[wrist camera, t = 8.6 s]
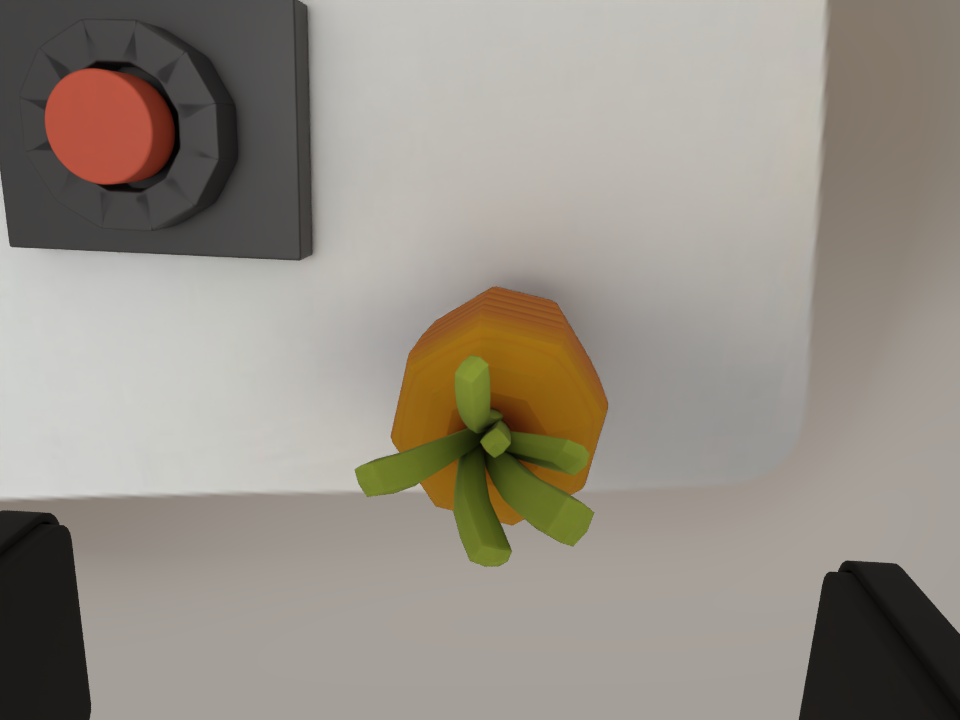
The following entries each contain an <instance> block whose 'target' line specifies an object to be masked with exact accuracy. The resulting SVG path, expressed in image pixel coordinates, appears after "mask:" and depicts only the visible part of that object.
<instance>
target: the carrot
mask: <svg viewBox="0 0 960 720" xmlns="http://www.w3.org/2000/svg"><path fill="white" fill-rule="evenodd" d="M607 410H608V401H607V398H606V396H605V393H604V390H603V387H602V384H601V382H600V379H599V377H598V375H597V372H596V370H595V368H594V366H593V364H592V362H591V360H590V358H589V356H588V355H587V353H586V351H585V350H584V348H583V346H582V345H581V343H580V341H579V340H578V338H577V336H576V335H575V333H574V331H573V330H572V328H571V326H570V325H569V323H568V321H567V320H566V318H565V316H564V315H563V313H562V311H561V309H560V308H559V306H558V304H557V303H555V302H553V301H551V300H548V299H544V298H540V297H536V296H532V295H528V294H524V293H520V292H516V291H512V290H508V289H504V288H500V287H492V288H490V289H488V290H487V291H485V292H483V293H482V294H480V295H478V296H476V297H475V298H473V299H471V300H470V301H468V302H466V303H465V304H463V305H461V306H460V307H458V308H456V309H455V310H453V311H451V312H450V313H448V314H446V315H445V316H443V317H441V318H440V319H438V320H436V321H435V322H434V323H433V324H432V325H431V326H430V327H429V329H428V330H427V331H426V332H425V333H424V334H423V335H422V336H421V338H420V339H419V340H418V342H417V343H416V344H415V346H414V347H413V349H412V350H411V351H410V353H409V355H408V360H407V364H406V369H405V373H404V378H403V382H402V387H401V391H400V396H399V401H398V405H397V410H396V414H395V419H394V423H393V428H392V432H391V439H392V442H393V444H394V445H395V447H396V448H397V450H398V451H399V453H397V454H394V455H390V456H386V457H382V458H379V459H376V460H373V461H371V462H368V463H366V464H364V465H361V466H360V467H358V468H357V469H355V473H356V476H357V480H358V483H359V485H360V487H361V488H362V490H363V491H364V493H365V494H366V496H367V497H370V496H377V495H386V494H394V493H396V492H399V491H402V490H404V489H407V488H410V487H413V486H415V485H417V484H418V483H420V484H421V485H422V487H423V488H424V490H425V491H426V493H427V494H428V496H429V497H430V499H431V500H432V501H433V503H434V505H435V506H437V507H440V508H445V509H448V510H452V511H454V516H455V519H456V523H457V527H458V530H459V534H460V538H461V540H462V543H463V545H464V548H465V550H466V552H467V555H468V557H469V560H470V561H472V562H474V563H477V564H480V565H482V566H500V565H502V564H504V563H505V562H507V561H508V559H509V557H510V554H511V552H512V550H511V548H510V545H509V543H508V540H507V538H506V535H505V533H504V530H503V528H502V526H501V524H500V522H501V523H505V524H509V525H514V524H516V523H518V522H520V521H522V520H524V519H526V520H527V521H528V522H529V523H530V524H531V525H533V526H534V527H535V528H536V529H538V530H539V531H541V532H543V533H545V534H546V535H548V536H550V537H552V538H553V539H555V540H557V541H559V542H561V543H563V544H567V545H570V546H574V545H575V544H576V543H577V542H578V541H579V540H580V538H581V537H582V536H583V535H584V534H585V533H586V532H587V530H588V527H589V525H590V522H591V520H592V517H593V514H594V512H593V511H592V510H591V509H590V508H588V507H587V506H586V505H585V504H583V503H582V502H580V501H578V500H577V499H575V498H574V497H572V496H571V495H572V494H574V493H575V492H577V491H579V490H581V489H582V488H583V487H584V485H585V483H586V480H587V476H588V473H589V470H590V466H591V463H592V460H593V456H594V453H595V450H596V446H597V443H598V440H599V436H600V433H601V430H602V426H603V423H604V420H605V416H606V413H607Z"/></svg>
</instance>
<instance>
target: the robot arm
mask: <svg viewBox="0 0 960 720" xmlns="http://www.w3.org/2000/svg"><path fill="white" fill-rule="evenodd" d="M90 713H91V700H90V691H89V683H88V674H87V667H86V658H85V649H84V641H83V632H82V624H81V615H80V607H79V599H78V590H77V582H76V574H75V565H74V556H73V548H72V540H71V535H70V532H69V530H68V528H67V527H65V526H64V525H59V522H58V520H57V519H56V517H55V516H54V515H52V514H51V513H41V512H24V511H0V720H89V719H90ZM799 720H960V634H959V633H958V632H957V631H956V629H955V628H954V627H953V626H952V625H951V624H950V623H949V622H948V620H947V619H946V618H945V617H944V616H943V615H942V614H941V612H940V611H939V610H938V609H937V608H936V607H935V605H934V604H933V603H932V602H931V601H930V600H929V599H928V598H927V596H926V595H925V594H924V593H923V592H922V591H921V589H920V588H919V587H918V586H917V585H916V584H915V582H914V581H913V580H912V579H911V578H910V577H909V576H908V574H906V572H905V571H904V570H903V569H902V568H901V567H900V566H899V565H897V564H893V563H879V562H862V561H845V562H843V563H842V564H841V566H840V568H839V570H838V572H828V573H827V574H826V576H825V577H824V580H823V584H822V590H821V595H820V601H819V608H818V613H817V619H816V624H815V630H814V636H813V641H812V648H811V653H810V658H809V665H808V670H807V676H806V681H805V687H804V694H803V699H802V704H801V710H800V716H799Z"/></svg>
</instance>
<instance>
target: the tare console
mask: <svg viewBox="0 0 960 720" xmlns="http://www.w3.org/2000/svg"><path fill="white" fill-rule="evenodd" d="M88 68H96V69H104V70H110V71H116V72H122V73H127V74H131V75H134V76H137V77H139V78H141V79H143V80H145V81H146V82H148V83H149V84H151V85H152V86H153V87H154V88H155V89H156V90H157V91H158V92H159V93H160V94H161V95H162V97H163V98H164V100H165V101H166V103H167V105H168V107H169V109H170V111H171V114H172V117H173V121H174V126H175V141H174V147H173V151H172V153H171V156H170V158H169V160H168V161H167V163H166V164H165V166H164V167H163V168H162V169H161V170H160V171H159V172H158V173H156V174H155V175H154V176H152V177H150V178H148V179H145V180H142V181H138V182H130V183H120V184H106V185H104V184H96V183H92V182H89V181H87V180H84V179H82V178H80V177H78V176H77V175H75V174H74V173H72V172H71V171H70V170H69V169H68V168H66V167H65V166H64V165H63V164H62V162H61V161H60V160H59V159H58V157H57V156H56V155H55V153H54V151H53V149H52V148H51V145H50V143H49V140H48V137H47V134H46V128H45V109H46V105H47V101H48V99H49V96H50V94H51V92H52V90H53V89H54V88H55V86H56V85H57V84H58V83H59V82H60V81H61V80H62V79H63V78H64V77H66V76H67V75H69V74H71V73H73V72H75V71H78V70H82V69H88ZM0 172H1V180H2V188H3V196H4V204H5V212H6V220H7V228H8V236H9V243H10V246H11V247H21V248H43V249H64V250H85V251H107V252H128V253H150V254H171V255H193V256H214V257H235V258H257V259H278V260H302V259H304V258H306V257H308V256H310V255H312V226H311V180H310V135H309V89H308V44H307V6H306V5H305V4H303V3H302V2H300V1H298V0H0Z"/></svg>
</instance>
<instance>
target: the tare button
mask: <svg viewBox="0 0 960 720" xmlns="http://www.w3.org/2000/svg"><path fill="white" fill-rule="evenodd" d="M45 128H46V134H47V137H48V140H49V143H50V145H51V148H52V149H53V151H54V153H55V155H56V156H57V157H58V159H59V160H60V161H61V162H62V164H63V165H64V166H65V167H66V168H68V169H69V170H70V171H71V172H72V173H74V174H75V175H77V176H78V177H80V178H82V179H84V180H87V181H89V182H92V183H96V184H104V185H106V184H120V183H130V182H138V181H142V180H145V179H148V178H150V177H152V176H154V175H155V174H156V173H158V172H159V171H160V170H161V169H162V168H163V167H164V166H165V164H166V163H167V161H168V160H169V158H170V156H171V153H172V151H173V147H174V141H175V126H174V121H173V117H172V114H171V111H170V109H169V107H168V105H167V103H166V101H165V100H164V98H163V97H162V95H161V94H160V93H159V92H158V91H157V90H156V89H155V88H154V87H153V86H152V85H151V84H149V83H148V82H146V81H145V80H143V79H141V78H139V77H137V76H134V75H131V74H127V73H122V72H116V71H110V70H104V69H96V68H88V69H82V70H78V71H75V72H73V73H71V74H69V75H67V76H66V77H64V78H63V79H62V80H61V81H60V82H59V83H58V84H57V85H56V86H55V88H54V89H53V90H52V92H51V94H50V96H49V99H48V101H47V105H46V109H45Z"/></svg>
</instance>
